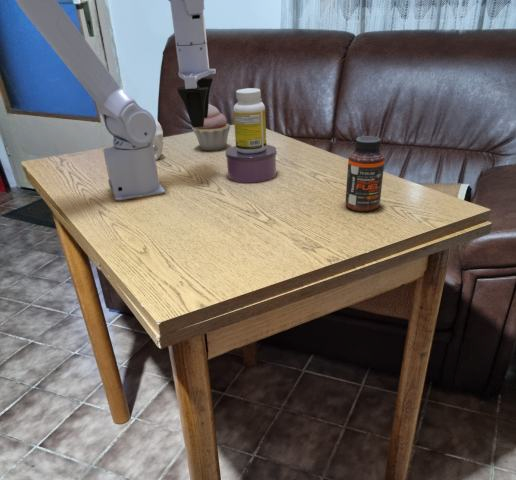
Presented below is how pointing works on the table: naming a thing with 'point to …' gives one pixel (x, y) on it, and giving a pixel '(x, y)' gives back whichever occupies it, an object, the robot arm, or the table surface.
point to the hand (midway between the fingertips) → (200, 122)
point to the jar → (251, 165)
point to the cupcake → (213, 131)
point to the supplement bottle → (365, 174)
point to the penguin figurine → (158, 140)
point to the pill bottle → (249, 121)
